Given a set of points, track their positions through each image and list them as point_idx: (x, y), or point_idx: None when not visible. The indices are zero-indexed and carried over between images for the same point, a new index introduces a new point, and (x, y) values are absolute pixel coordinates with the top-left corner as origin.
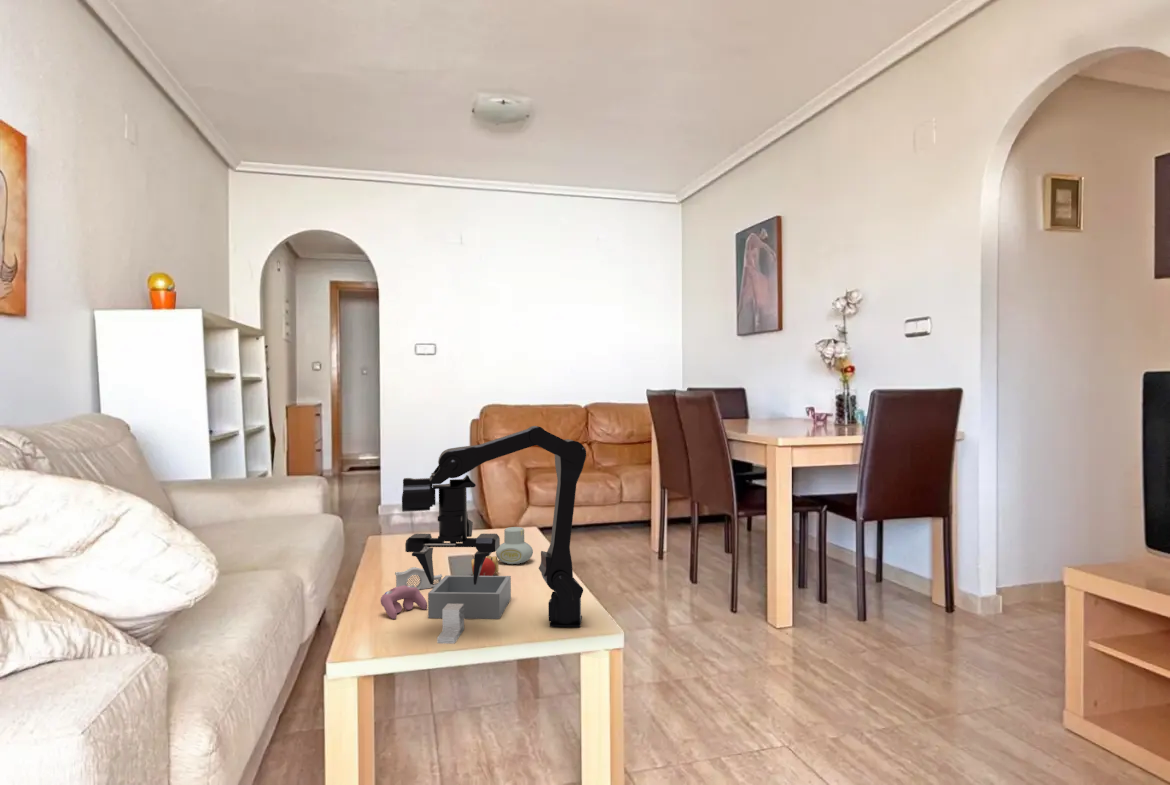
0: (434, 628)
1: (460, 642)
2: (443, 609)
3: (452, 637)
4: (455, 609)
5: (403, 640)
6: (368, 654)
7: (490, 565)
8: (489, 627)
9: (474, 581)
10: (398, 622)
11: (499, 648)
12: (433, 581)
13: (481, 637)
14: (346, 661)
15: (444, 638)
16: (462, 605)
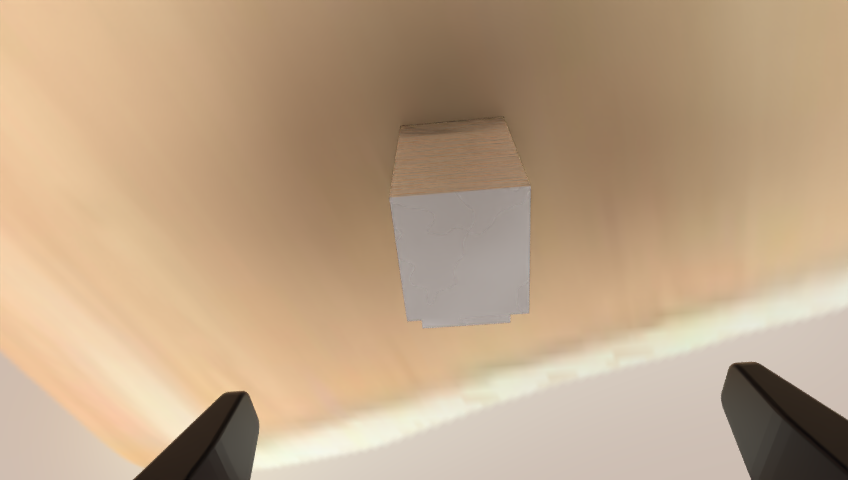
0: (310, 118)
1: (532, 289)
2: (414, 319)
3: (499, 320)
4: (499, 309)
5: (245, 296)
6: None
7: None
8: (665, 53)
9: (746, 442)
10: (5, 35)
11: (729, 330)
12: (240, 403)
13: (630, 220)
14: None
15: (458, 321)
16: (529, 226)
